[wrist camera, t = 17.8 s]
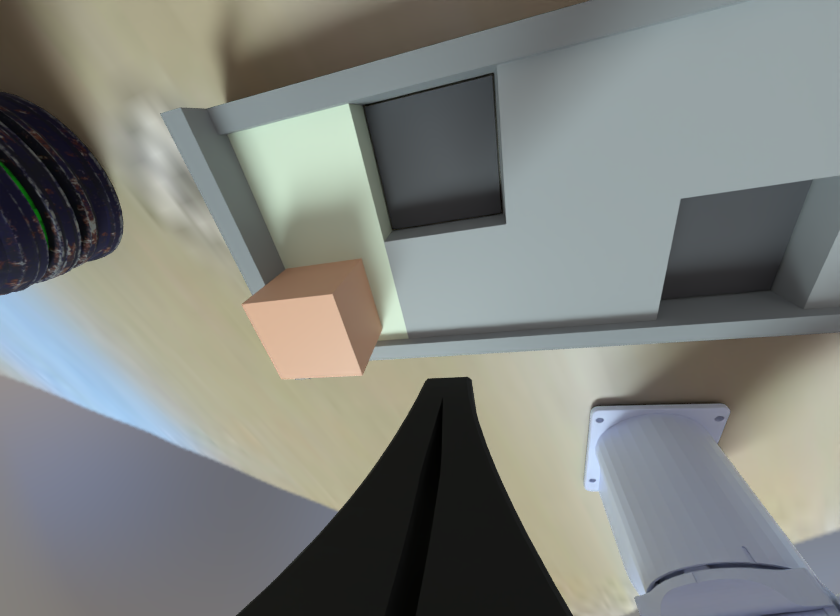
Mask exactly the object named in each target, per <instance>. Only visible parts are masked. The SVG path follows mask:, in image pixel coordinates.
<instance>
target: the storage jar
mask: <svg viewBox="0 0 840 616" xmlns="http://www.w3.org/2000/svg"><path fill="white" fill-rule="evenodd" d="M122 234H123V217H122V211H121V207H120V204H119V200H118V198H117V195H116V193H115V191H114V188H113V186H112V184H111V182H110V180H109V179H108V177H107V175H106V173H105V172H104V170H103V169H102V167H101V166H100V164H99V163H98V161H97V160H96V158H95V157H94V156H93V155H92V153H91V152H90V151H89V150H88V148H87V147H86V146H85V145H84V144H83V143H82V142H81V141H80V140H79V139H78V138H77V136H76V135H75V134H74V133H73V132H72V131H70V130H69V129H68V128H67V127H66V126H65V125H64V124H62V123H61V122H60V121H59V120H58V119H56V118H55V117H53V116H52V115H51V114H49V113H48V112H47V111H45V110H44V109H42V108H40V107H39V106H37V105H35V104H33V103H32V102H30V101H28V100H25V99H23V98H21V97H18V96H16V95H12V94H9V93H5V92H0V295H5V294H9V293H11V292H17V291H21V290H24V289H26V288H28V287H29V286H31V285H33V284H34V283H39V282H43V281H47V280H49V279H52V278H55V277H57V276H59V275H63V274H65V273H67V272H68V271H70V270H71V269H72V268H75V267H78V266H80V265H82V264H84V263H86V262H87V261H93V260H97V259H99V258H102V257H105V256H107V255H109V254H110V253H112V252H113V251H114V250H115V249H116V248H117V247H118V245H119V243H120V241H121V238H122Z"/></svg>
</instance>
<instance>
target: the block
mask: <svg viewBox="0 0 840 616" xmlns="http://www.w3.org/2000/svg"><path fill="white" fill-rule="evenodd" d="M241 305H242V307H243V308H244V310H245V312H246V314H247V316H248V318H249V320H250V321H251V323H252V325H253V327H254V329H255V331H256V333H257V335H258V336H259V338H260V340H261V342H262V344H263V346H264V348H265V350H266V351H267V353H268V355H269V357H270V359H271V361H272V363H273V364H274V366H275V368H276V370H277V372H278V374H279V376H280V378H281V379H300V378H320V377H341V376H361V375H363V373H364V371H365V368H366V366H367V364H368V361H369V359H370V357H371V355H372V352H373V350H374V348H375V345H376V343H377V341H378V339H379V336H380V334H381V332H382V325H381V322H380V319H379V315H378V312H377V309H376V305H375V302H374V299H373V295H372V292H371V289H370V285H369V282H368V279H367V275H366V272H365V269H364V265H363V262H362V259H354V260H346V261H339V262H332V263H324V264H317V265H310V266H302V267H295V268H288V269H285V270H284V271H283V272H282V273H280V274H279V275H278V276H276V277H275V278H274V279H273V280H271V281H270V282H269V283H268V284H266V285H265V286H264V287H263V288H261V289H260V290H259V291H258V292H256V293H255V294H254V295H253V296H251V297H250V298H249V299H248V300H246V301H245V302H244V303H242V304H241Z"/></svg>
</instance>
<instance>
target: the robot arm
mask: <svg viewBox="0 0 840 616" xmlns="http://www.w3.org/2000/svg"><path fill="white" fill-rule="evenodd" d="M729 415H730V409H729V408H728V407H727V406H726V405H725V404H673V405H628V406H596V407H594V408H593V409H591V414H590V424H589V434H588V444H587V454H586V464H585V475H584V487H585V489H586V490H588V491H599V493H600V496H601V499H602V502H603V505H604V508H605V511H606V514H607V517H608V520H609V523H610V526H611V529H612V532H613V535H614V538H615V541H616V544H617V547H618V550H619V553H620V555H621V558H622V561H623V564H624V567H625V570H626V572H627V575H628V577H629V579H630V581H631V583H632V584H633V586H634V588H635V589H636V591H637V592H638V593H639V595H640V596H636V597H635V598H634V599H635V602H636V605H637V608H638V611H639V614H640V616H840V594H836V596H835V595H834V594H833V593H832V592H831V591H830V590H829V589H828V588H827V587H826V586H825V585H824V584H823V583H822V582H821V581H820V580H819V579H818V577H817V576H816V575H815V573H814V572H813V571H812V569H811V568H810V567H809V565H808V564H807V563H806V561H805V560H804V559H803V558H802V556H801V555H800V553H799V552H798V551H797V549H796V548H795V547H794V545H793V544H792V543H791V541H790V540H789V539H788V537H787V536H786V535H785V533H784V532H783V531H782V529H781V528H780V527H779V525H778V524H777V523H776V521H775V520H774V519H773V517H772V516H771V515H770V513H769V512H768V511H767V509H766V508H765V507H764V505H763V504H762V503H761V501H760V500H759V499H758V497H757V496H756V495H755V493H754V492H753V491H752V489H751V488H750V487H749V485H748V484H747V483H746V481H745V480H744V479H743V477H742V476H741V475H740V474H739V472H738V471H737V470H736V468H735V467H734V466H733V464H732V463H731V462H730V460H729V459H728V458H727V456H726V455H725V454H724V452H723V451H722V450H721V448H720V447H719V446H718V442H719V439H720V437H721V434H722V432H723V429H724V427H725V424H726V422H727V420H728V417H729ZM236 616H573V615H572V613H571V611H570V610H569V608H568V606H567V604H566V603H565V601H564V599H563V598H562V596H561V594H560V593H559V591H558V589H557V587H556V586H555V584H554V582H553V580H552V578H551V576H550V575H549V573H548V571H547V569H546V567H545V566H544V564H543V562H542V560H541V558H540V556H539V555H538V553H537V551H536V549H535V547H534V545H533V544H532V542H531V540H530V538H529V536H528V534H527V533H526V531H525V529H524V527H523V525H522V523H521V521H520V519H519V517H518V515H517V513H516V511H515V509H514V507H513V504H512V502H511V500H510V498H509V496H508V494H507V492H506V490H505V487H504V485H503V483H502V481H501V479H500V476H499V474H498V472H497V469H496V467H495V464H494V462H493V460H492V457H491V455H490V452H489V449H488V447H487V444H486V442H485V439H484V436H483V433H482V430H481V427H480V424H479V421H478V417H477V413H476V407H475V400H474V393H473V387H472V380H471V379H470V378H468V377H455V378H432V379H427V380H426V381H425V383H424V385H423V387H422V389H421V391H420V393H419V395H418V397H417V399H416V401H415V402H414V404H413V406H412V408H411V410H410V411H409V413H408V415H407V417H406V418H405V420H404V422H403V423H402V425H401V427H400V428H399V430H398V432H397V433H396V435H395V436H394V438H393V440H392V441H391V443H390V444H389V446H388V447H387V449H386V450H385V452H384V453H383V454H382V456H381V457H380V459H379V460H378V462H377V463H376V465H375V466H374V468H373V469H372V470H371V472H370V473H369V474H368V476H367V477H366V478H365V480H364V481H363V482H362V484H361V485H360V486H359V487H358V489H357V490H356V491H355V493H354V494H353V495H352V496H351V498H350V499H349V500H348V501H347V502H346V504H345V505H344V506H343V507H342V508H341V509H340V511H339V512H338V513H337V514H336V515H335V517H334V518H333V519H332V520H331V521H330V522H329V523H328V525H327V526H326V527H325V528H324V529H323V530H322V531H321V533H320V534H319V535H318V536H317V537H316V538H315V539H314V540H313V541H312V542H311V543H310V544H309V545H308V546H307V547H306V548H305V549H304V550H303V552H301V553H300V554H299V556H297V558H296V559H295V560H294V561H293V562H292V563H291V564H290V565H289V566H288V567H287V568H286V569H285V570H284V571H283V572H282V573H281V574H280V575H279V576H278V577H277V578H276V579H275V580H274V581H273V582H272V583H271V584H270V585H269V586H268V587H267V588H266V589H265V590H264V591H262V592H261V593H260V594H259V595H258V596H257V597H256V598H255V599H254V600H253V601H251V602H250V603H249V604H248V605H247V606H246V607H245V608H244V609H243V610H242V611H241V612H239V614H237V615H236Z"/></svg>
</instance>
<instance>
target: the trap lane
mask: <svg viewBox="0 0 840 616" xmlns="http://www.w3.org/2000/svg"><path fill="white" fill-rule="evenodd" d="M490 73H494V80H495V96H496V112H497V127H498V143H499V158H500V174H501V189H502V205H503V213H502V214H496V213H501V202H500V187H499V172H498V157H497V142H496V127H495V112H494V98H493V83H492V75H491V76H487V77H483V78H479V79H475V80H471V81H467V82H463V83H459V84H455V85H451V86H447V87H443V88H439V89H435V90H431V91H427V92H423V93H419V94H415V95H411V96H407V97H403V98H399V99H395V100H391V101H387V102H383V103H379V104H375V105H371V106H367V107H364V108H363V105H367V104H371V103H375V102H379V101H383V100H387V99H391V98H395V97H398V96H402V95H406V94H410V93H414V92H418V91H422V90H426V89H430V88H434V87H438V86H442V85H446V84H450V83H454V82H458V81H462V80H466V79H470V78H474V77H478V76H482V75H486V74H490ZM364 109H365V112H364ZM365 113H366V116H365ZM160 114H161V116H162V118H163V120H164V122H165V124H166V126H167V128H168V130H169V132H170V134H171V136H172V138H173V140H174V142H175V144H176V146H177V148H178V150H179V152H180V154H181V156H182V158H183V160H184V162H185V164H186V166H187V168H188V169H189V171H190V173H191V175H192V177H193V179H194V181H195V183H196V185H197V187H198V189H199V191H200V193H201V195H202V197H203V199H204V201H205V203H206V205H207V207H208V209H209V211H210V213H211V215H212V217H213V219H214V221H215V223H216V225H217V227H218V229H219V231H220V233H221V234H222V236H223V238H224V240H225V242H226V244H227V246H228V248H229V250H230V252H231V254H232V256H233V258H234V260H235V262H236V264H237V266H238V268H239V270H240V272H241V274H242V276H243V278H244V280H245V282H246V284H247V286H248V288H249V290H250V292H251V294H252V296H253V295H254V294H255V293H256V292H258V291H259V290H260V289H261V288H263V287H264V286H265V285H266V284H268V283H269V282H270V281H271V280H273V279H274V278H275V277H276V276H278V275H279V274H280V273H282V272H283V271H284V270H285V269H288V268H295V267H302V266H310V265H317V264H324V263H332V262H339V261H346V260H354V259H362V262H363V265H364V269H365V272H366V275H367V279H368V282H369V285H370V289H371V292H372V295H373V299H374V302H375V305H376V309H377V312H378V315H379V319H380V322H381V325H382V332H381V334H380V336H379V339H378V341H377V343H376V345H375V348H374V350H373V352H372V355H371V357H370V359H369V360H386V359H403V358H420V357H436V356H453V355H470V354H486V353H503V352H520V351H536V350H553V349H570V348H587V347H603V346H620V345H637V344H653V343H670V342H687V341H703V340H720V339H737V338H754V337H770V336H787V335H804V334H820V333H837V332H840V0H590V1H586V2H583V3H579V4H576V5H572V6H569V7H565V8H562V9H558V10H554V11H551V12H547V13H544V14H540V15H537V16H533V17H530V18H526V19H523V20H519V21H516V22H512V23H508V24H505V25H501V26H498V27H494V28H491V29H487V30H484V31H480V32H477V33H473V34H469V35H466V36H462V37H459V38H455V39H452V40H448V41H445V42H441V43H438V44H434V45H431V46H427V47H423V48H420V49H416V50H413V51H409V52H406V53H402V54H399V55H395V56H392V57H388V58H384V59H381V60H377V61H374V62H370V63H367V64H363V65H360V66H356V67H353V68H349V69H346V70H342V71H338V72H335V73H331V74H328V75H324V76H321V77H317V78H314V79H310V80H307V81H303V82H299V83H296V84H292V85H289V86H285V87H282V88H278V89H275V90H271V91H268V92H264V93H260V94H257V95H253V96H250V97H246V98H243V99H239V100H236V101H232V102H229V103H225V104H222V105H218V106H214V107H211V108H207V109H201V108H177V109H174V110H171V111H167V112H164V113H160ZM366 117H367V121H368V125H369V129H368V125H367V121H366ZM369 130H370V133H369ZM370 134H371V137H370ZM371 138H372V142H373V146H372V142H371ZM373 147H374V150H373ZM374 151H375V154H374ZM375 155H376V158H375ZM376 159H377V163H378V167H377V163H376ZM378 168H379V171H378ZM379 172H380V175H379ZM380 176H381V179H380ZM381 180H382V184H381ZM382 185H383V188H382ZM383 189H384V192H383ZM384 193H385V196H384ZM385 197H386V200H385ZM386 201H387V205H386ZM387 206H388V209H387ZM388 210H389V213H388ZM389 214H390V217H389ZM490 214H496V215H490ZM483 215H489V216H483ZM477 216H483V217H477ZM470 217H476V218H470ZM390 218H391V221H390ZM464 218H470V219H464ZM457 219H463V220H457ZM451 220H457V221H451ZM445 221H450V222H445ZM438 222H444V223H438ZM391 223H392V226H391ZM432 223H438V224H432ZM425 224H431V225H425ZM419 225H425V226H419ZM412 226H418V227H412ZM392 227H393V229H399V228H405V229H399V230H392ZM406 227H412V228H406ZM300 379H310V378H300ZM295 380H296V379H295Z"/></svg>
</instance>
